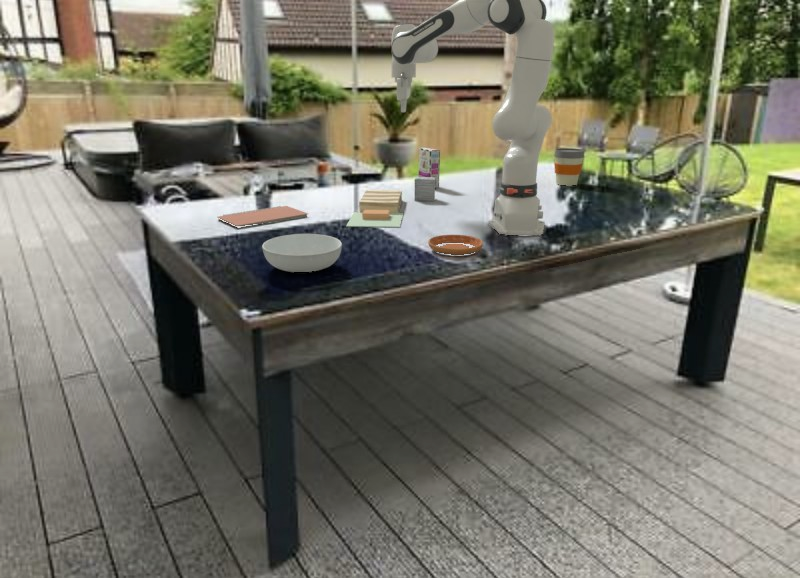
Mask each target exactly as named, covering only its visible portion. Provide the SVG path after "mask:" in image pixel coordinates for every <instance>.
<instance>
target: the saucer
mask: <svg viewBox="0 0 800 578" xmlns="http://www.w3.org/2000/svg"><path fill="white" fill-rule="evenodd" d="M442 243H464V244H470V245H473V246H475V247H472V248H469V246H466V245H463V244H446V245H443V246H440V247H439V246H436V245H438V244H442ZM428 247H429V248H430V249H431V250H433V252H435V251H436V252H439V253H444V254H451V255H464V254H471V253H474V252H476V253H478V252H479V251H480V250H481V249H482V248H483V247H484V241H483V240H482V239H481V238H479V237H475V236H470V235H467V234H465V235H464V234H443V235H437V236H433V237H431V238H430V239H428ZM436 252H435V253H436Z"/></svg>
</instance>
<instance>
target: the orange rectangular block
mask: <svg viewBox="0 0 800 578" xmlns="http://www.w3.org/2000/svg"><path fill="white" fill-rule="evenodd" d="M389 216H390V210H364V211H363V213H362V219H387V220H388V219H389Z"/></svg>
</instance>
